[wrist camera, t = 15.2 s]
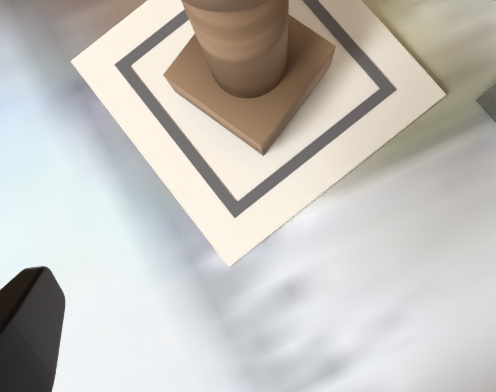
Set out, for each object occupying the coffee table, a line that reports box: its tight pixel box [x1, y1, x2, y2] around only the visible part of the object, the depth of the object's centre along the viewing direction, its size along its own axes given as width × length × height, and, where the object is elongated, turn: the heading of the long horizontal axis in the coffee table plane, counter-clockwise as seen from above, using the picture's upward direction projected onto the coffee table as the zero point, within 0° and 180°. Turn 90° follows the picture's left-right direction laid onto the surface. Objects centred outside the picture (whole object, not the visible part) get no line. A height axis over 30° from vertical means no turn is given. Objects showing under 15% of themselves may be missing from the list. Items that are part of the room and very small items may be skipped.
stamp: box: [163, 0, 336, 156], centre depth 14 cm, size 5×5×13 cm
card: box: [71, 0, 446, 267], centre depth 21 cm, size 12×12×1 cm
